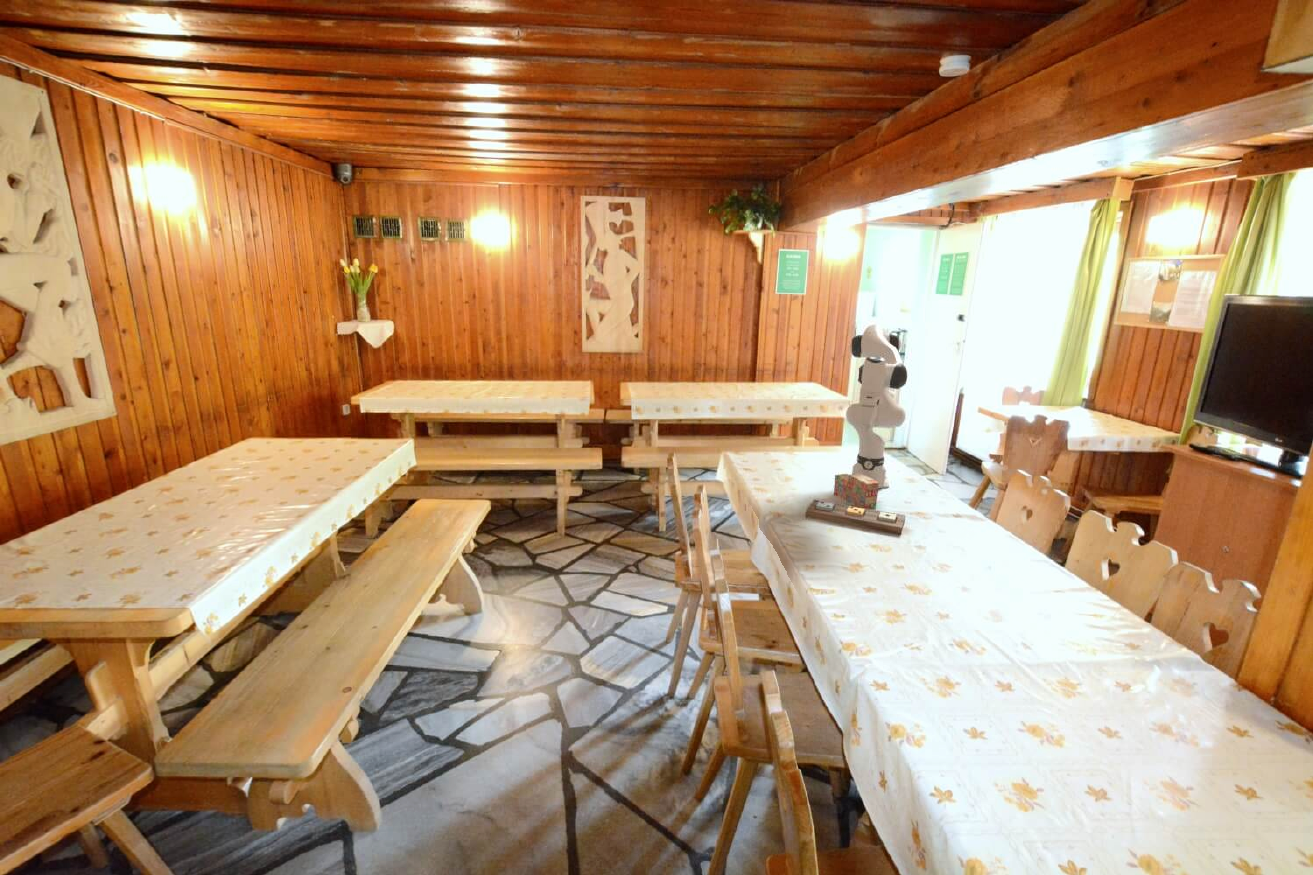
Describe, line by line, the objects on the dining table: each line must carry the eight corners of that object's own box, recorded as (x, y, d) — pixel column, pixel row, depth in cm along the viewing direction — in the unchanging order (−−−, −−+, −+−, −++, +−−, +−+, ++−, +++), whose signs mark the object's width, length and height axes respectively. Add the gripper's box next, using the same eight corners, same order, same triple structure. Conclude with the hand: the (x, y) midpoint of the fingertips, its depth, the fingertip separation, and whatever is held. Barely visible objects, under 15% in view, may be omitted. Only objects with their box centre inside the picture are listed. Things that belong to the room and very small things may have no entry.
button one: (879, 520, 232) (880, 511, 231) (895, 523, 229) (896, 513, 228) (877, 526, 226) (878, 516, 225) (893, 529, 224) (895, 519, 223)
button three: (848, 515, 237) (849, 505, 236) (863, 518, 234) (864, 508, 233) (845, 520, 232) (846, 510, 231) (861, 523, 229) (862, 513, 228)
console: (813, 506, 247) (814, 499, 246) (904, 522, 231) (905, 515, 230) (805, 517, 235) (806, 510, 234) (901, 534, 219) (901, 527, 218)
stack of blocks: (833, 494, 262) (835, 468, 259) (844, 492, 264) (847, 467, 261) (863, 511, 243) (866, 483, 240) (876, 509, 245) (879, 481, 242)
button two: (818, 509, 242) (819, 500, 241) (833, 512, 240) (834, 503, 239) (815, 514, 237) (816, 505, 236) (830, 517, 234) (831, 507, 233)
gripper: (866, 393, 241) (863, 425, 244) (858, 401, 223) (855, 436, 227) (882, 394, 238) (879, 427, 242) (876, 402, 221) (872, 438, 224)
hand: (867, 431), depth 234 cm, fingers closed
